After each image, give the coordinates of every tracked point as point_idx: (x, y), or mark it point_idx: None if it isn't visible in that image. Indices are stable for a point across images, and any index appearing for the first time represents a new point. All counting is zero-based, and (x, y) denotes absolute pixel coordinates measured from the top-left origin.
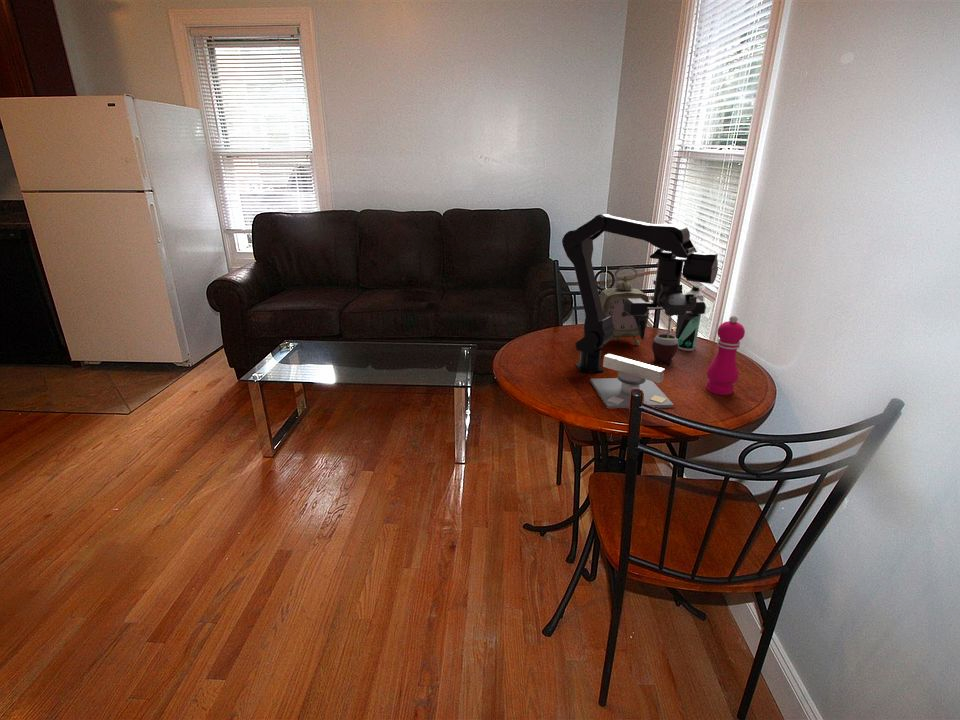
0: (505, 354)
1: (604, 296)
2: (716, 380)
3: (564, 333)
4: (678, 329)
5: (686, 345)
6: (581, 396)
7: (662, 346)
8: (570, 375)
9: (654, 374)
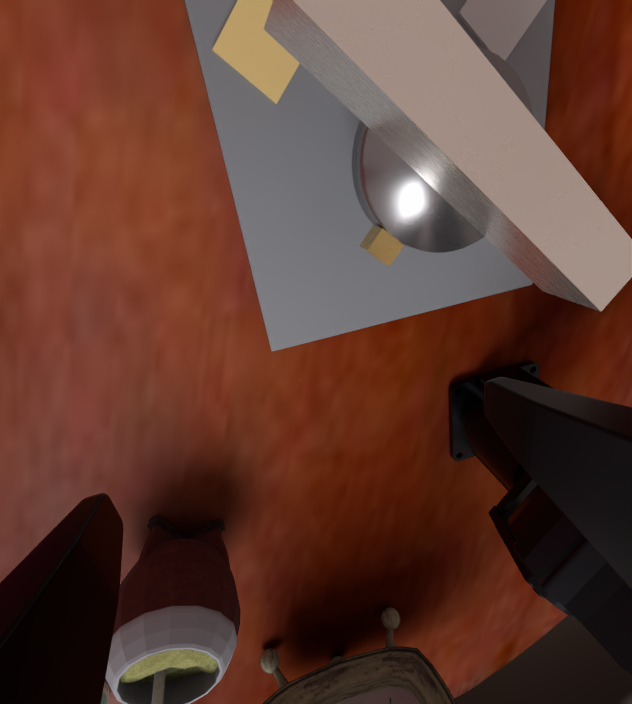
0: None
1: None
2: None
3: (486, 646)
4: (72, 617)
5: None
6: (609, 101)
7: (195, 594)
8: (576, 326)
9: None
